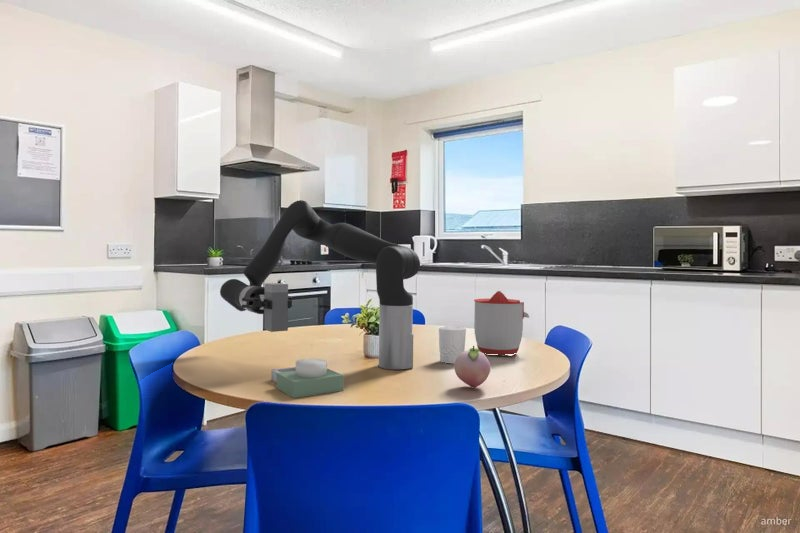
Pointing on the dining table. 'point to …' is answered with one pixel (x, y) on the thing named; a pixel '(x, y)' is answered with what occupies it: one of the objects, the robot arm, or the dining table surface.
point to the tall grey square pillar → (276, 307)
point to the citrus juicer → (499, 324)
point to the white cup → (451, 342)
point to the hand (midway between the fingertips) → (280, 304)
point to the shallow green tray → (307, 378)
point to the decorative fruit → (472, 367)
